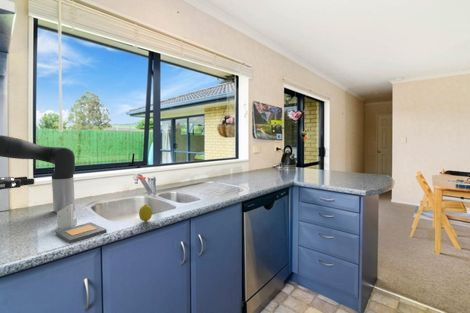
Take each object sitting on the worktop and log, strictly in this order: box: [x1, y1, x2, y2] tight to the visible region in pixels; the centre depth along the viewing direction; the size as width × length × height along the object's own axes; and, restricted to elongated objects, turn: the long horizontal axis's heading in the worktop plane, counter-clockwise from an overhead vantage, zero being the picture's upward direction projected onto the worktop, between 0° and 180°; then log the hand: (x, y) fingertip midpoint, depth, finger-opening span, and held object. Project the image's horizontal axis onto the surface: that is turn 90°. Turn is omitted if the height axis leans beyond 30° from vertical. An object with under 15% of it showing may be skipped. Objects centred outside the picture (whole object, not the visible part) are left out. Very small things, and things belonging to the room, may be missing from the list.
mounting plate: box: [55, 221, 108, 244], centre depth 96 cm, size 14×13×1 cm
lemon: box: [138, 204, 153, 223], centre depth 109 cm, size 6×6×8 cm
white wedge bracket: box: [56, 203, 78, 229], centre depth 104 cm, size 4×10×9 cm, turn 92°
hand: (30, 180), depth 94 cm, fingers open, 8 cm apart
